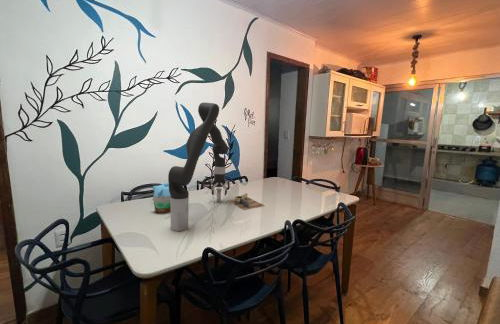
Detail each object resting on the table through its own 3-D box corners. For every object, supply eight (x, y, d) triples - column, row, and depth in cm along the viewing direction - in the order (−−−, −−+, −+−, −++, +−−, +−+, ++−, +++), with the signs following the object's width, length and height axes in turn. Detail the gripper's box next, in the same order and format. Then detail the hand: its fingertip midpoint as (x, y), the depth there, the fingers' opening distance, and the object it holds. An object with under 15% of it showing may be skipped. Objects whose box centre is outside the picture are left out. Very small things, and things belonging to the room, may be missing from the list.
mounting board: (227, 202, 177) (227, 200, 177) (247, 198, 188) (247, 197, 187) (243, 211, 160) (244, 210, 159) (265, 207, 170) (265, 205, 170)
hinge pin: (222, 204, 172) (222, 189, 170) (217, 205, 170) (218, 190, 168) (219, 202, 175) (219, 188, 173) (214, 203, 173) (215, 188, 171)
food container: (151, 214, 147) (151, 198, 146) (152, 211, 153) (152, 195, 151) (172, 213, 150) (172, 198, 149) (173, 210, 156) (173, 195, 155)
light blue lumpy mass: (180, 204, 167) (180, 185, 165) (155, 207, 160) (155, 187, 158) (175, 196, 183) (175, 179, 181) (152, 199, 176) (151, 180, 174)
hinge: (230, 200, 177) (230, 195, 176) (246, 198, 185) (246, 193, 184) (244, 208, 162) (245, 202, 161) (261, 205, 170) (261, 200, 169)
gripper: (230, 171, 173) (229, 193, 176) (209, 171, 172) (209, 193, 175) (229, 174, 166) (229, 197, 168) (208, 173, 165) (208, 196, 167)
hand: (219, 195), depth 171 cm, fingers open, 8 cm apart
